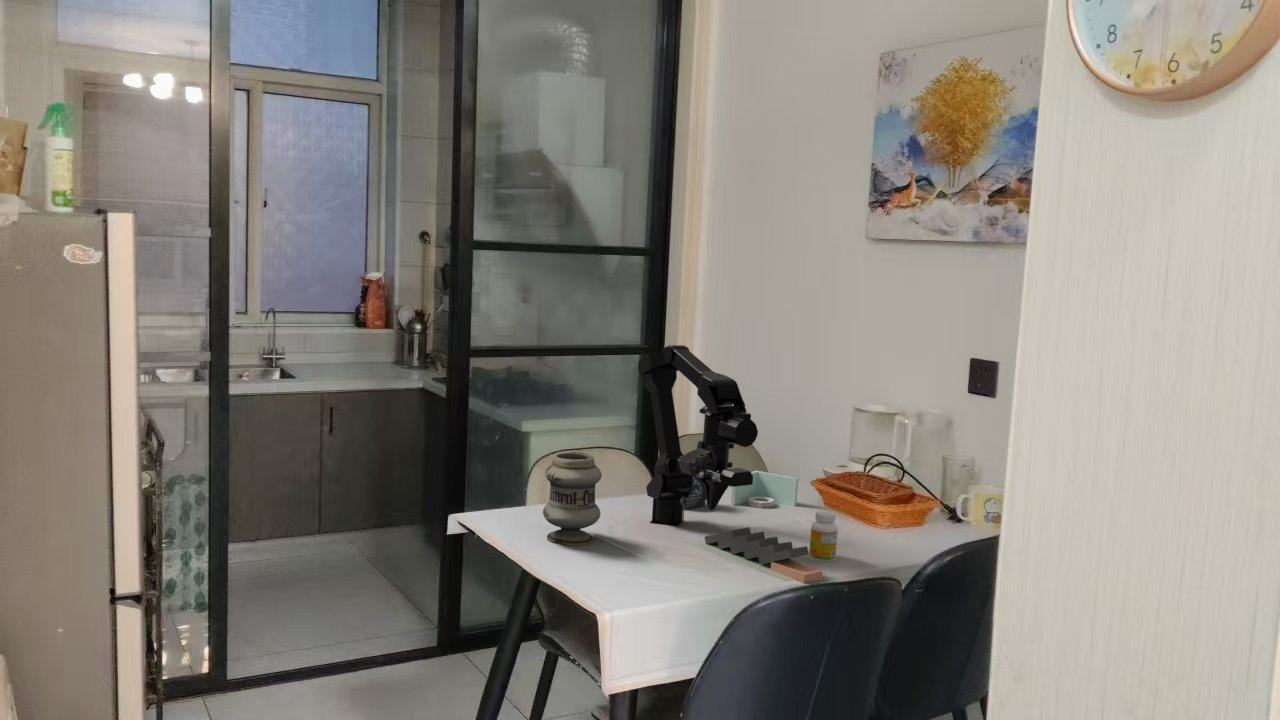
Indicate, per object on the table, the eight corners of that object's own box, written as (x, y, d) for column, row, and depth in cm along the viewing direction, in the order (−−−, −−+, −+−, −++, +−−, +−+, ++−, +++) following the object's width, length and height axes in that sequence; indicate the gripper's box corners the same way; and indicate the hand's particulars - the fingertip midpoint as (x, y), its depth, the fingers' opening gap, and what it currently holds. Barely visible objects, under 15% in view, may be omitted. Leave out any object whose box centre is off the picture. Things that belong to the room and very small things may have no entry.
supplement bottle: (806, 555, 220) (809, 509, 219) (831, 555, 220) (834, 510, 219) (812, 562, 215) (816, 516, 214) (838, 563, 215) (841, 517, 214)
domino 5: (758, 556, 209) (788, 549, 202) (776, 553, 212) (807, 546, 205) (759, 564, 209) (790, 557, 202) (778, 561, 211) (808, 554, 205)
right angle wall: (730, 506, 261) (732, 477, 261) (754, 499, 271) (756, 470, 270) (773, 516, 255) (776, 485, 254) (796, 507, 264) (798, 478, 264)
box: (684, 510, 253) (687, 467, 252) (667, 505, 257) (670, 462, 256) (706, 506, 258) (708, 464, 257) (689, 501, 262) (692, 459, 261)
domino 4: (743, 551, 212) (772, 544, 205) (761, 548, 215) (791, 541, 208) (745, 559, 212) (774, 552, 205) (763, 556, 215) (793, 549, 208)
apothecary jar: (531, 541, 218) (535, 455, 216) (557, 528, 229) (561, 447, 228) (584, 550, 214) (589, 463, 212) (607, 536, 225) (612, 454, 223)
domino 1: (704, 536, 222) (731, 529, 215) (722, 534, 225) (749, 527, 218) (705, 544, 222) (733, 537, 215) (723, 541, 225) (751, 534, 218)
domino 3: (730, 546, 216) (758, 539, 209) (748, 543, 219) (777, 536, 212) (731, 554, 215) (760, 547, 208) (749, 551, 218) (778, 544, 211)
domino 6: (771, 561, 206) (804, 574, 199) (789, 558, 209) (822, 571, 202) (770, 569, 206) (803, 582, 199) (789, 566, 209) (822, 579, 202)
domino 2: (717, 541, 219) (745, 534, 212) (735, 538, 222) (763, 531, 215) (719, 549, 218) (747, 542, 211) (737, 546, 221) (765, 539, 214)
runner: (685, 543, 223) (685, 541, 223) (721, 538, 229) (721, 536, 229) (784, 583, 199) (785, 581, 199) (821, 576, 205) (822, 574, 205)
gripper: (659, 431, 225) (654, 503, 227) (716, 448, 210) (710, 524, 212) (699, 428, 232) (694, 498, 233) (757, 445, 217) (751, 519, 219)
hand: (711, 509), depth 224 cm, fingers closed
